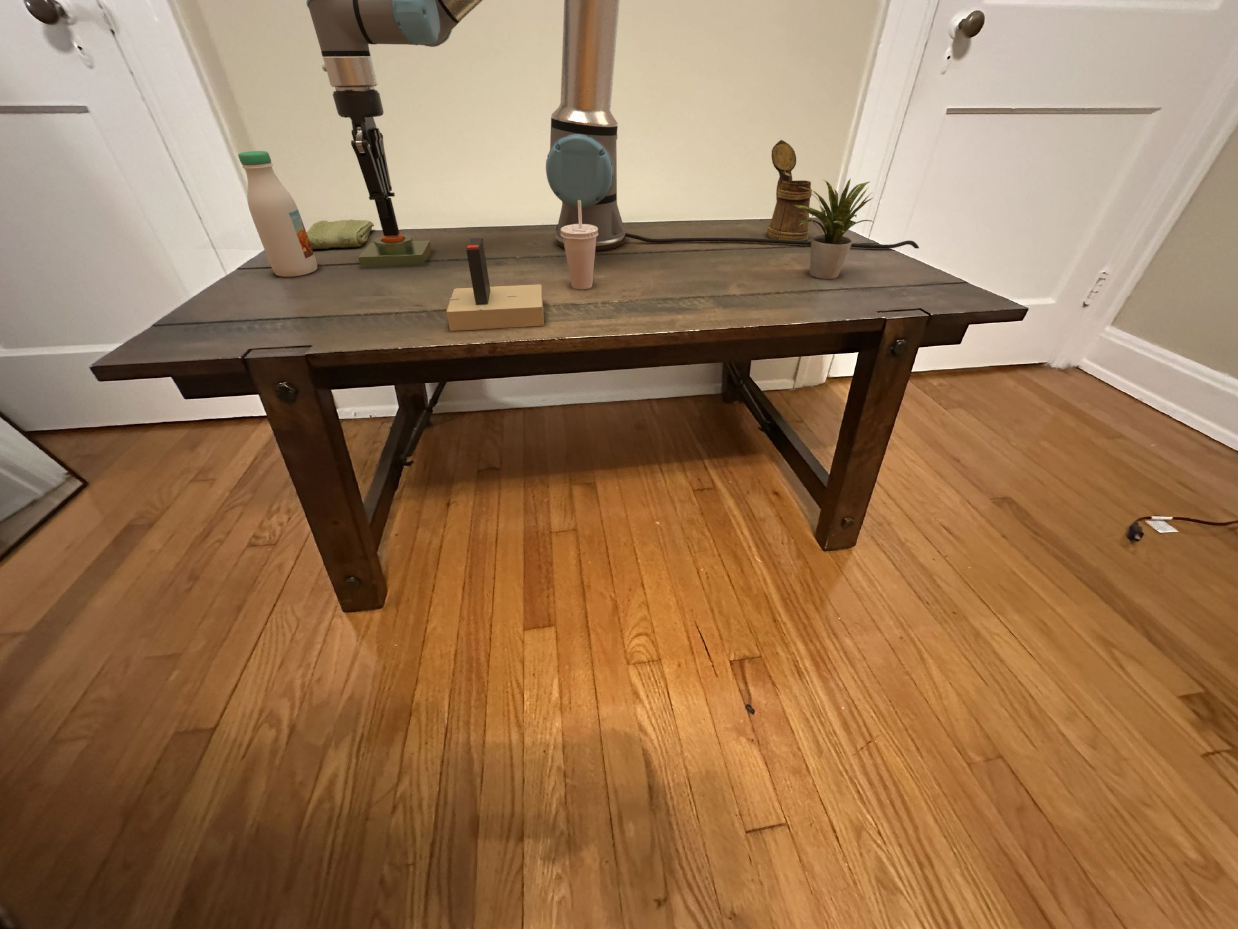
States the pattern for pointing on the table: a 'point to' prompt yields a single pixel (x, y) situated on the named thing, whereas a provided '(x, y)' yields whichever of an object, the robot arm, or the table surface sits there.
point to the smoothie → (580, 251)
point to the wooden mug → (788, 198)
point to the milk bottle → (276, 218)
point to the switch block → (395, 253)
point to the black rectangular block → (478, 270)
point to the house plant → (833, 230)
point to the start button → (392, 238)
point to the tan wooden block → (497, 308)
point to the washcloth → (339, 234)
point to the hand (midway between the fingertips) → (391, 234)
